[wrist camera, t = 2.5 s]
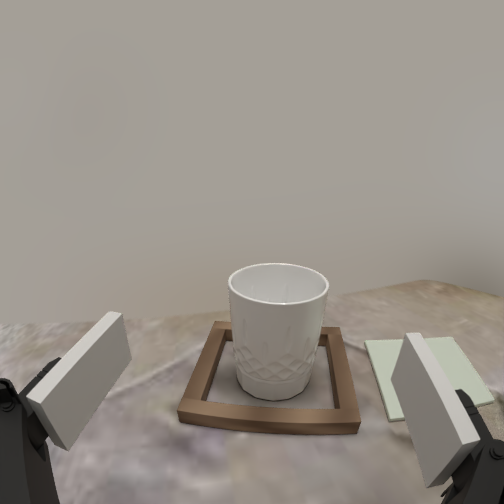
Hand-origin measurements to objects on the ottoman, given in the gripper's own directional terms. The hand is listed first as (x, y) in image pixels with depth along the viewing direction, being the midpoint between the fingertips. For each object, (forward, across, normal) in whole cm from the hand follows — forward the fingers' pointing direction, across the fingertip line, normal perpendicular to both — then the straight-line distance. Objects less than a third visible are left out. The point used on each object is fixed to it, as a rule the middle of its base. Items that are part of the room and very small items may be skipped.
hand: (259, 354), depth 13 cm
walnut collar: (+11, +1, -11) cm, 16 cm away
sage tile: (+11, +17, -11) cm, 23 cm away
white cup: (+11, +1, -11) cm, 16 cm away
